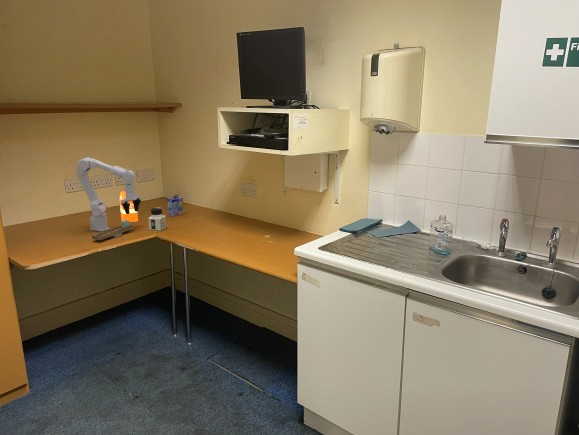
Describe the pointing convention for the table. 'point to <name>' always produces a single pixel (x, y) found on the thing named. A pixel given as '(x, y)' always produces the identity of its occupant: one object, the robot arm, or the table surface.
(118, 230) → the beam
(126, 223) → the block
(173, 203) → the ink cartridge box
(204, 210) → the table surface
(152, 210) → the container
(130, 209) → the orange juice
